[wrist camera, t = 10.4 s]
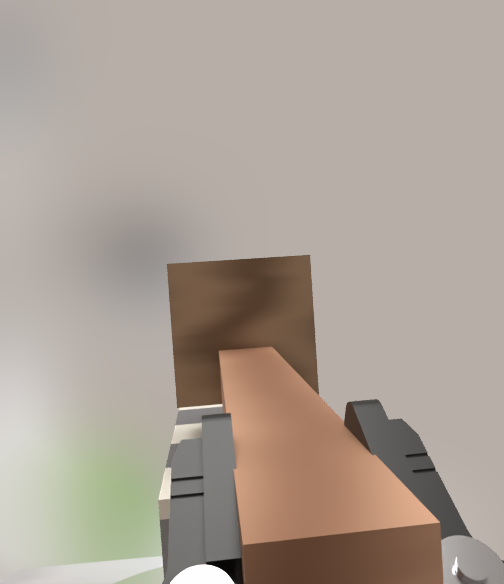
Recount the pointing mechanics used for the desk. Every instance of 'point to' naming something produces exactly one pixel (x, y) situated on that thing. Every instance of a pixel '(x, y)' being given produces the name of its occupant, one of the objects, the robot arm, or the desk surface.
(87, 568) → the desk surface
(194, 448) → the robot arm
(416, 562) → the brown angular block
